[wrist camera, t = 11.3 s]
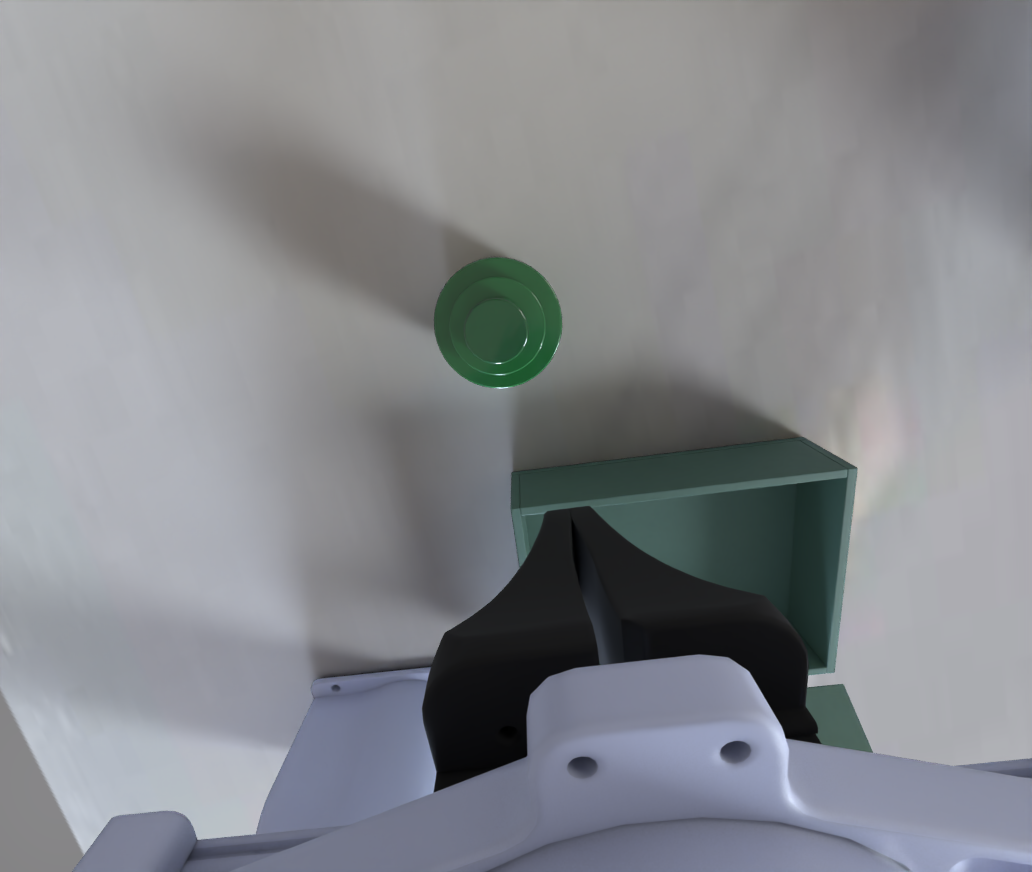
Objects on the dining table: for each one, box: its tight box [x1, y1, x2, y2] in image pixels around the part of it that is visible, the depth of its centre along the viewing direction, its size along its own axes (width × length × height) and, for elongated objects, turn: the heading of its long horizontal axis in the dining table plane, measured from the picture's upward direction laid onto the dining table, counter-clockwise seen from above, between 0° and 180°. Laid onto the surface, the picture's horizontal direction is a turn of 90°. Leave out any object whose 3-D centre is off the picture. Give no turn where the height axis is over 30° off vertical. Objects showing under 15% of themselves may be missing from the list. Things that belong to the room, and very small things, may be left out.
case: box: [511, 437, 857, 675], centre depth 23 cm, size 11×14×4 cm
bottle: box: [434, 257, 562, 388], centre depth 18 cm, size 4×4×7 cm
